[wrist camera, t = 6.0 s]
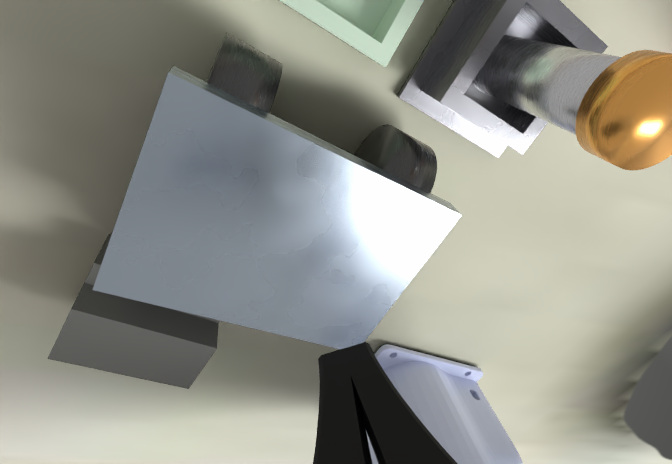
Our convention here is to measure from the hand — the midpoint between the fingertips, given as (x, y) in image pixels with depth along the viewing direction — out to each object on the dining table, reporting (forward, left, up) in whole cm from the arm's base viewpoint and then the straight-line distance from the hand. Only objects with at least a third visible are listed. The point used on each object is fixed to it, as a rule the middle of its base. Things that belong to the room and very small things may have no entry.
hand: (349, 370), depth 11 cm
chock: (+5, +8, -10) cm, 13 cm away
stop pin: (-5, -10, -10) cm, 14 cm away
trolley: (+1, 0, -10) cm, 10 cm away
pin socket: (-5, -10, -10) cm, 15 cm away
